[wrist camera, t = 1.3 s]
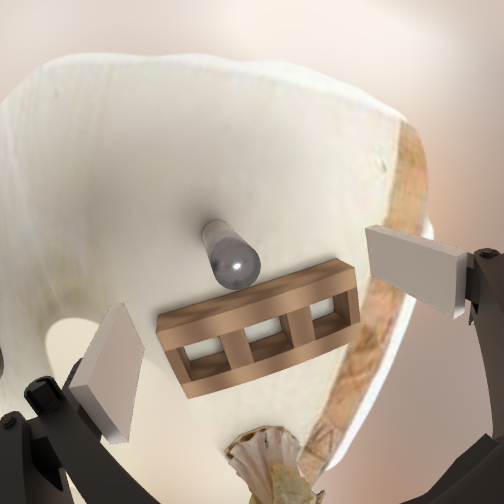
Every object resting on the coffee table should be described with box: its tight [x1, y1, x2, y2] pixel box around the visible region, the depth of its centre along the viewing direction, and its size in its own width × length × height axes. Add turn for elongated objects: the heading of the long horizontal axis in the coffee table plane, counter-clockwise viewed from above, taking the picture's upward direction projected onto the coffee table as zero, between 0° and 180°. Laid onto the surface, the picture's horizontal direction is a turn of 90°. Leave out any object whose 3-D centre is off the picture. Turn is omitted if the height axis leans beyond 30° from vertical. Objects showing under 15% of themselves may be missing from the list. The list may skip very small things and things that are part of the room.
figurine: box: [224, 426, 325, 504], centre depth 29 cm, size 12×12×20 cm
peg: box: [202, 220, 261, 290], centre depth 24 cm, size 3×3×12 cm
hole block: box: [156, 258, 361, 399], centre depth 31 cm, size 21×9×4 cm, turn 104°
